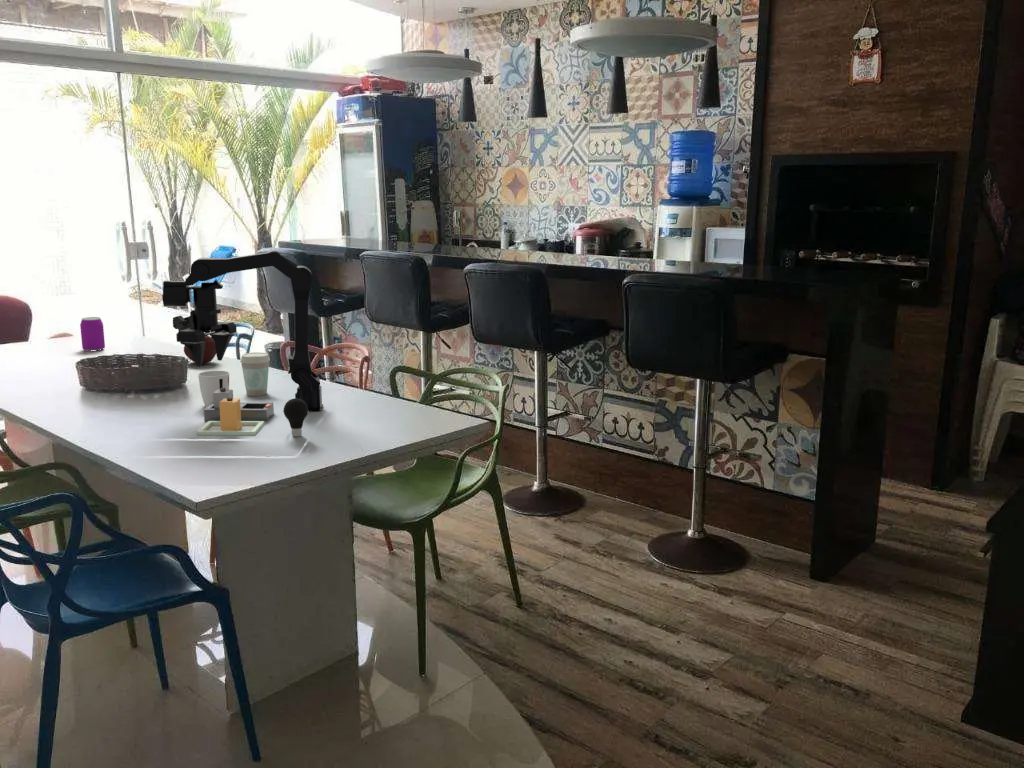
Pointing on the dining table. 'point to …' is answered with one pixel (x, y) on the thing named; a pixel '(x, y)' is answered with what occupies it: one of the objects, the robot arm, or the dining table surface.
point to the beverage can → (92, 333)
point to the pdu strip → (243, 412)
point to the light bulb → (296, 415)
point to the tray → (204, 431)
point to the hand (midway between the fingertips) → (209, 363)
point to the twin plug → (221, 396)
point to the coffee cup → (255, 373)
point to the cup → (212, 384)
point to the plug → (230, 414)
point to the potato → (208, 351)
